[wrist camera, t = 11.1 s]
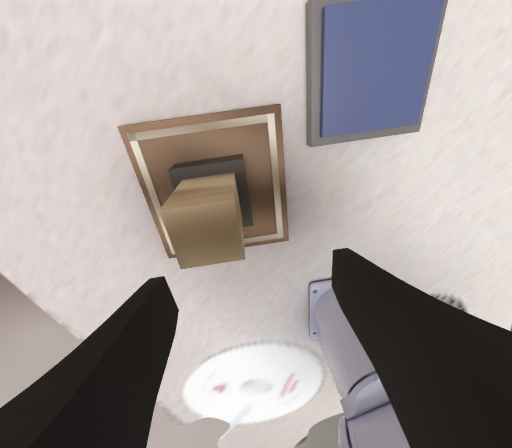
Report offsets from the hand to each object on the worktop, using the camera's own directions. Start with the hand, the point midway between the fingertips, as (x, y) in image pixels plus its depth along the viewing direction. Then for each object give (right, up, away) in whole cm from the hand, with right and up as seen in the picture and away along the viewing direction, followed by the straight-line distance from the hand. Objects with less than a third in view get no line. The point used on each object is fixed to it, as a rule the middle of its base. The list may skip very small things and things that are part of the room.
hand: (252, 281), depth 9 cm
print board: (-3, +5, +8) cm, 10 cm away
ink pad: (+8, +13, +5) cm, 16 cm away
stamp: (-3, +5, +8) cm, 10 cm away
